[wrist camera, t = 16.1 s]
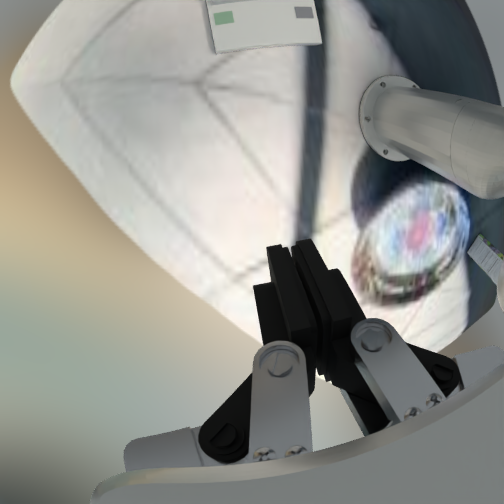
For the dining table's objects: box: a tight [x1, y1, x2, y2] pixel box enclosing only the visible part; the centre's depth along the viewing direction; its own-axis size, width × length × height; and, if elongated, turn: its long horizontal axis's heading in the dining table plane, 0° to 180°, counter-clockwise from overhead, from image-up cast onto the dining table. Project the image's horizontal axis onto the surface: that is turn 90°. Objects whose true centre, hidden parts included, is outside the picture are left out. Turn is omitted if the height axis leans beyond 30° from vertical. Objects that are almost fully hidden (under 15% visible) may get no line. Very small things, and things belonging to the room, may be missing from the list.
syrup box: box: [467, 234, 504, 285], centre depth 40 cm, size 6×6×14 cm
